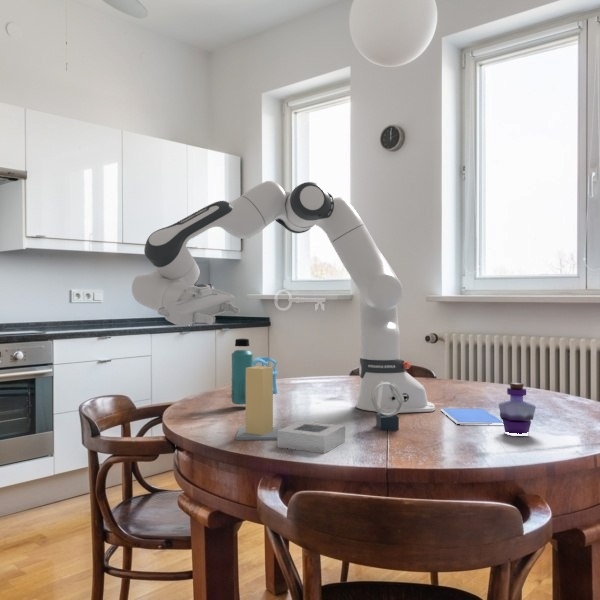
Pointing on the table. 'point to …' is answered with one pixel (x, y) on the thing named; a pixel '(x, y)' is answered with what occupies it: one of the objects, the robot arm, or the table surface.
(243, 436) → the slate mat
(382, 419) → the glass trophy
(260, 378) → the ochre peg
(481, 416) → the tablet computer
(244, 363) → the beverage bottle
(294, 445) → the socket block
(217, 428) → the table surface
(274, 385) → the chair
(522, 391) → the potion bottle
